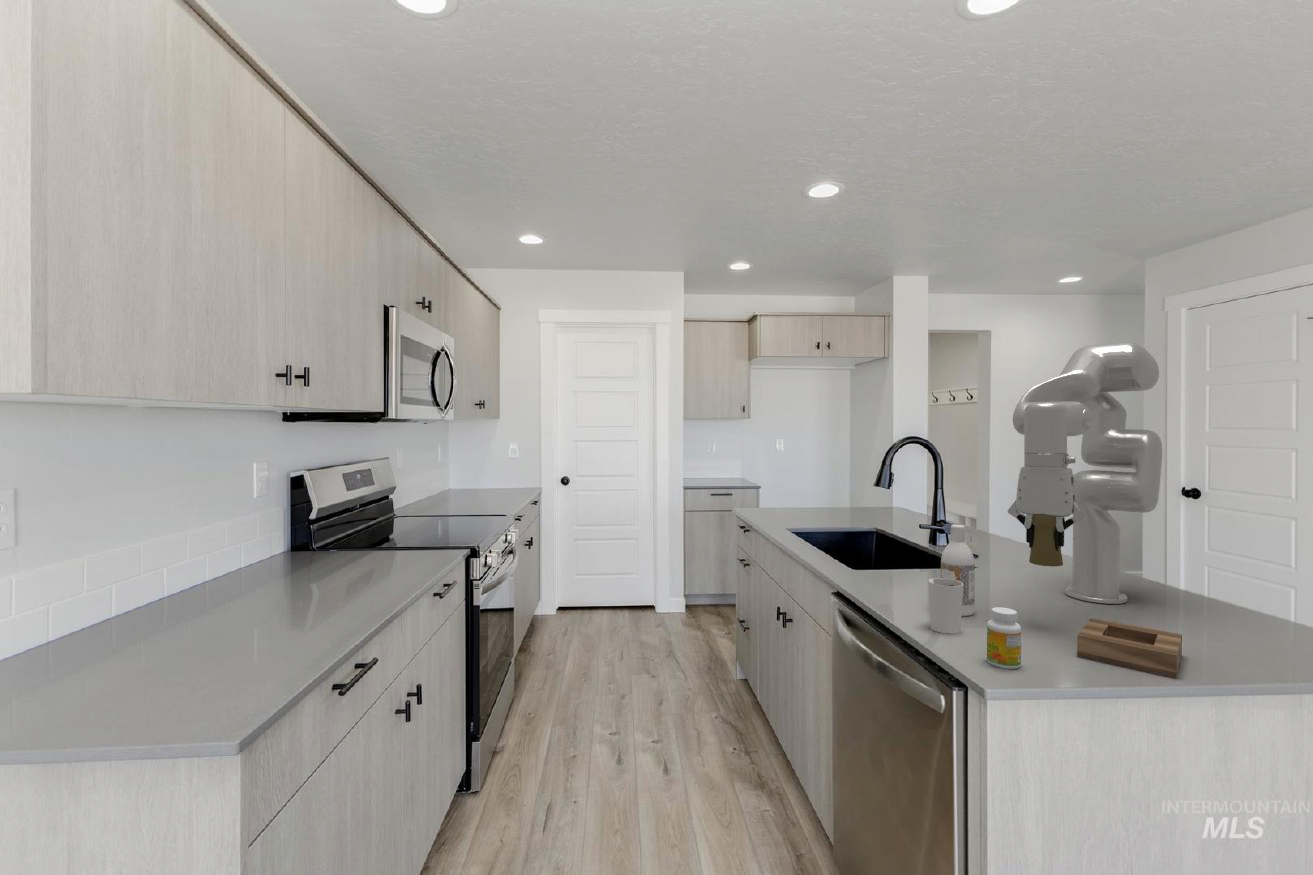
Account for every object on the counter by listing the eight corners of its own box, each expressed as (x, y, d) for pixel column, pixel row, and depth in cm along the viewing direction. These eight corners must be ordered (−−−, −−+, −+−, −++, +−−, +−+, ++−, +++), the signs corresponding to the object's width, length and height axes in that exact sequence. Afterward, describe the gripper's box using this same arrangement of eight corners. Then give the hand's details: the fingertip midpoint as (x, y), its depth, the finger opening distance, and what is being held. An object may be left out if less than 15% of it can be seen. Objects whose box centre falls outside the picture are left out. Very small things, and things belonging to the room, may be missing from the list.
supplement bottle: (980, 658, 111) (980, 606, 111) (1007, 657, 112) (1008, 605, 112) (999, 670, 106) (999, 615, 106) (1028, 669, 106) (1028, 614, 106)
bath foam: (933, 609, 140) (934, 524, 140) (955, 605, 143) (956, 522, 143) (959, 618, 134) (959, 529, 134) (981, 614, 137) (982, 526, 136)
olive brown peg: (1068, 566, 123) (1068, 513, 123) (1036, 566, 124) (1035, 513, 124) (1055, 559, 129) (1054, 508, 129) (1024, 559, 130) (1023, 508, 130)
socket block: (1090, 637, 122) (1090, 617, 122) (1181, 655, 112) (1182, 634, 112) (1077, 656, 112) (1077, 635, 112) (1176, 678, 102) (1176, 655, 102)
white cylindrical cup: (945, 622, 131) (946, 576, 131) (970, 632, 125) (970, 584, 125) (921, 625, 129) (921, 579, 129) (944, 636, 123) (945, 587, 123)
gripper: (1097, 461, 123) (1096, 550, 124) (1005, 458, 135) (1005, 540, 135) (1090, 464, 118) (1090, 557, 118) (995, 461, 129) (995, 545, 130)
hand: (1044, 547), depth 127 cm, fingers closed on olive brown peg, 3 cm apart
